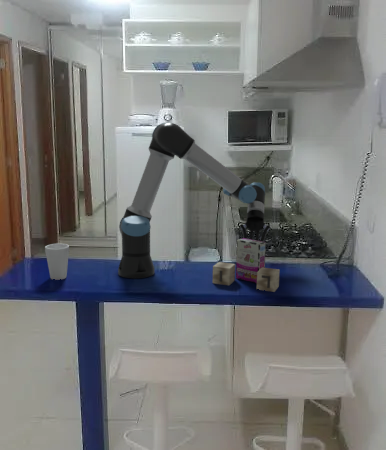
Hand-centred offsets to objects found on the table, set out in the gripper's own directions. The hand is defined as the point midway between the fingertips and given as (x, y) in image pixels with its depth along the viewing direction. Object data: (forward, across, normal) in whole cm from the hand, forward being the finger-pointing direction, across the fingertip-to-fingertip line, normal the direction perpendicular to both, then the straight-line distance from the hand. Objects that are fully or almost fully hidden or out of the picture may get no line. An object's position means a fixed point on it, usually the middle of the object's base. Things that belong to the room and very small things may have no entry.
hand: (253, 259), depth 204 cm
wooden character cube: (+13, +11, +4) cm, 18 cm away
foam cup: (+18, +78, +9) cm, 80 cm away
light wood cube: (+16, -6, +7) cm, 19 cm away
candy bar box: (+10, +1, +1) cm, 10 cm away
